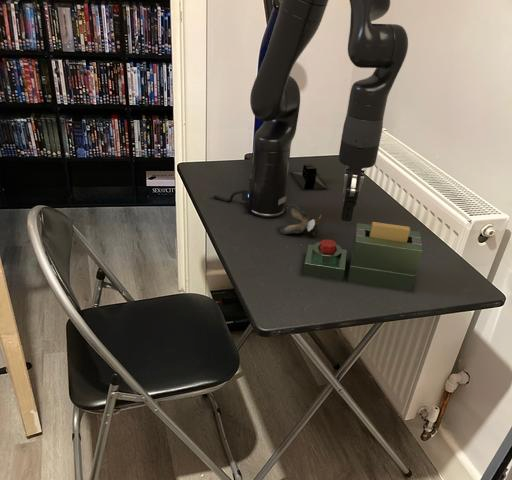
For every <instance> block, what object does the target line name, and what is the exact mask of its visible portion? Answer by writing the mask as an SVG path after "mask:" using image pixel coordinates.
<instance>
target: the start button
mask: <svg viewBox="0 0 512 480" xmlns="http://www.w3.org/2000/svg"><path fill="white" fill-rule="evenodd" d="M319 242H320V247H319V250H320V251H322V252H324V253H334V252H335V250H336V244H337V242H336V241H335V240H333V239H328V238H327V239H321V240H320V241H319Z"/></svg>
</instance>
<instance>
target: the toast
mask: <svg viewBox="0 0 512 480" xmlns="http://www.w3.org/2000/svg"><path fill="white" fill-rule="evenodd" d="M370 225H371V230H370V235H369V237H372V238H378V239H385V240H392V241H399V242H406V243H407V240H408V236H409V233H410V231H411V227H410V226H407V225H398V224H393V223H385V222H377V221H372V222H371V224H370Z"/></svg>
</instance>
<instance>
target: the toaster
mask: <svg viewBox="0 0 512 480" xmlns="http://www.w3.org/2000/svg"><path fill="white" fill-rule="evenodd" d="M371 225H372V224H367V223H360V222H356V226H355V230H354V236H353V241H352V245H351V251H350V256H349V261H348V272H347V282H348V283H354V284H362V285H367V286H374V287H381V288H387V289H393V290H401V291H406V292H407V291H408V292H412V289H413V286H414V283H415V280H416V276H417V273H418V268H419V265H420V261H421V258H422V254H423V244H422V236H421V231H415V230H410V233H409V236H408V240H407V243H406V242H399V241H392V240H385V239H378V238H372V237H369V235H370V230H371Z"/></svg>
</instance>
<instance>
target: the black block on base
mask: <svg viewBox="0 0 512 480" xmlns="http://www.w3.org/2000/svg"><path fill="white" fill-rule="evenodd" d="M317 169H318V168H317V167H316V166H315V164H314V163H303V167H302V171H292V172H291V176H292V177H293V178H294V179H295V181H296V182H297V184H298V185H299V186H300V188H301V189H302V190H303V191H317V190H327V187H326V186H325V184H324V183H323V182H322V181H321V179H320V178H319V177H318V176H317V173H318V172H317V171H318V170H317Z"/></svg>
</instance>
